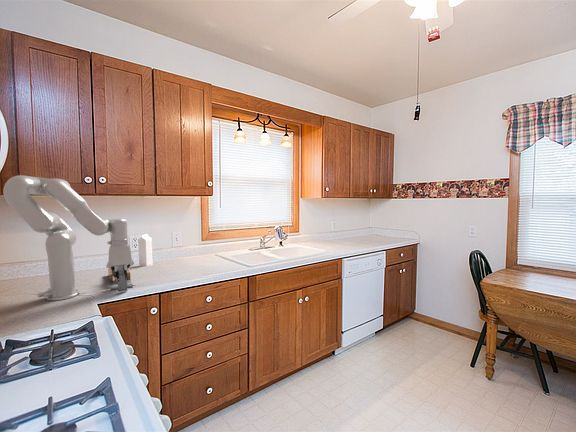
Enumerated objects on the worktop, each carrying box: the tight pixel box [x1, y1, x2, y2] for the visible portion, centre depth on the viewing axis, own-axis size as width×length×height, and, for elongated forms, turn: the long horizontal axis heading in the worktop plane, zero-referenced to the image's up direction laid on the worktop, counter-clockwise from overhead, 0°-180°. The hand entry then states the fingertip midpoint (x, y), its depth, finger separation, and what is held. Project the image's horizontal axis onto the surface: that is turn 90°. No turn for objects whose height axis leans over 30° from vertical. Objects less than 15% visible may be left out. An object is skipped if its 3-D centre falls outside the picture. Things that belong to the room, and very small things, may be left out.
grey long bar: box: [113, 265, 128, 293], centre depth 151 cm, size 22×5×8 cm, turn 34°
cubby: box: [107, 268, 134, 292], centre depth 160 cm, size 30×10×5 cm, turn 34°
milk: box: [137, 233, 154, 268], centre depth 194 cm, size 6×6×22 cm
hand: (121, 277), depth 148 cm, fingers closed on grey long bar
